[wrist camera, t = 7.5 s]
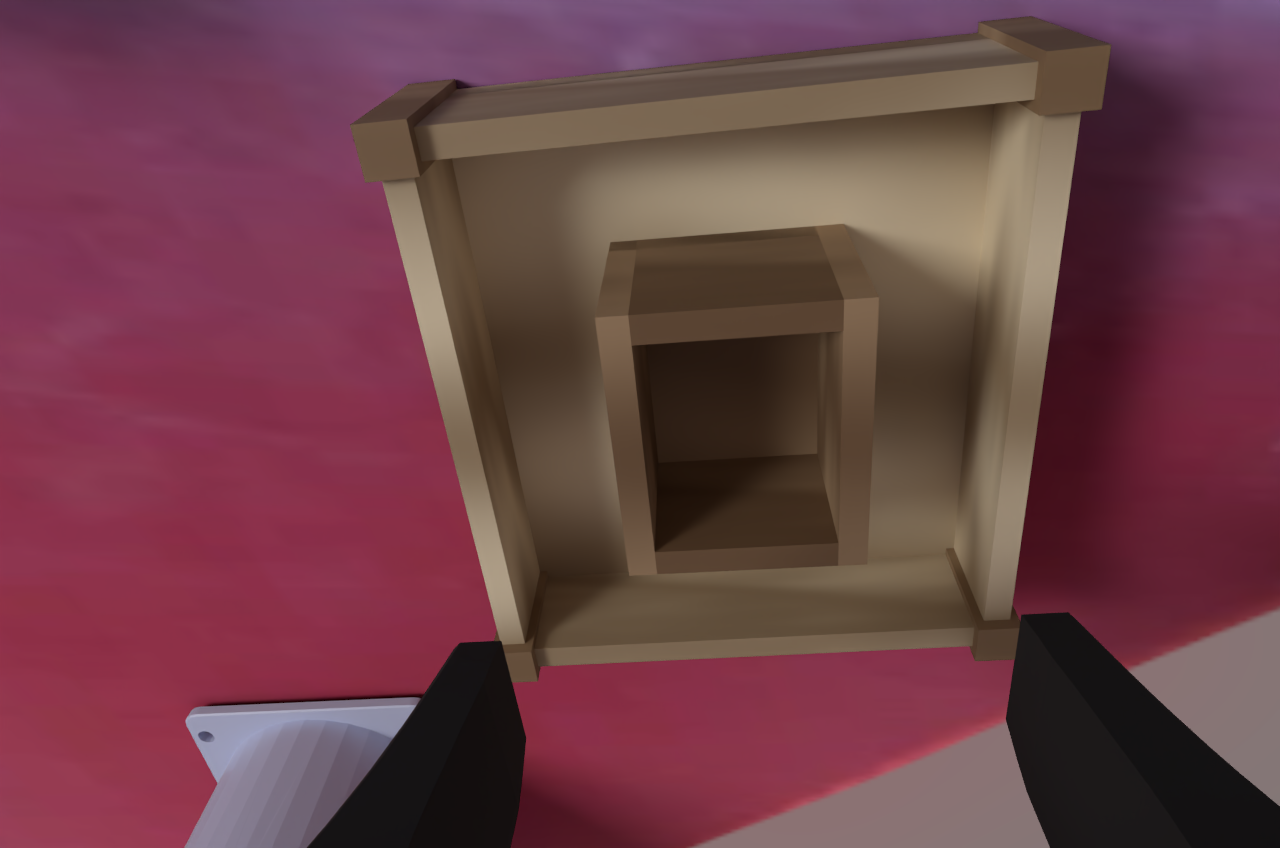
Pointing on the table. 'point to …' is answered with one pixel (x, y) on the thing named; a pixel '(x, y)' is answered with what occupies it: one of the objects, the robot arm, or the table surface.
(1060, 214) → the crate
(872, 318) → the small crate
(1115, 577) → the table surface
